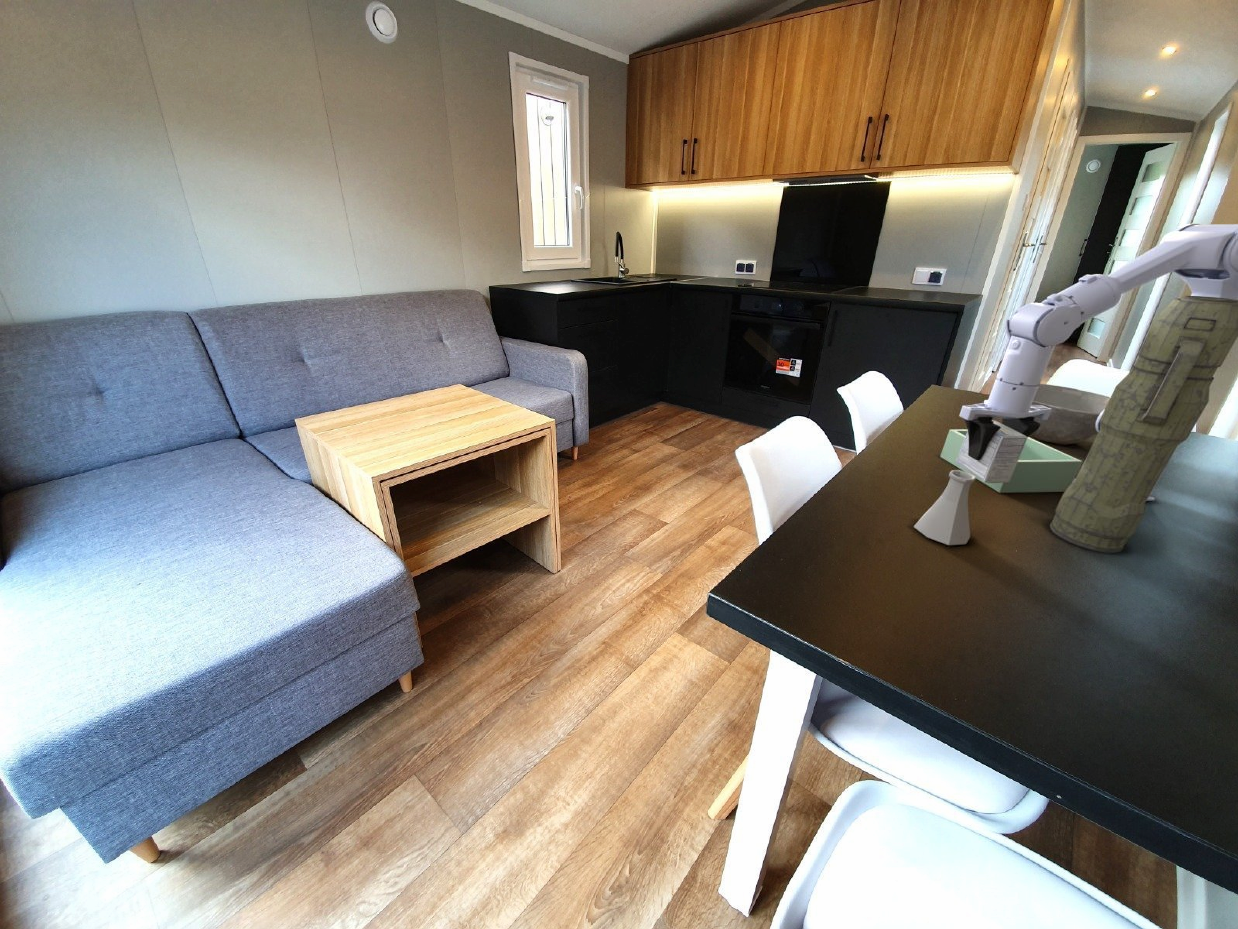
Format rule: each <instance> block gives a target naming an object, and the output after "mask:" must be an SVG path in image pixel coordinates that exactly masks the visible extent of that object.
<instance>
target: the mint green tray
mask: <svg viewBox="0 0 1238 929" xmlns="http://www.w3.org/2000/svg"><path fill="white" fill-rule="evenodd" d="M967 431H968V429H967V428H966V429H961V428H960V429H957V428H956V429H954V428H953V429H949V430H948V433H947V437H946V439H945V442H944V444H943V448H942V450H941V453H940V458H941V459H943V460H945V461H946V462H948V463H950V464H952V465H953V466H955V467H957V468H958V469H959V470H961V471H964V472H968V473H970V474H972V473H971V472H969V471H968V470H966V469H965V468H963V467H962V466H960V465H959V464H957V463H956V461H957V458H958V455H959V453H960V450H961V447H962V445H963V442H964V439H965V437H966V434H967ZM1082 464H1083V460H1080V459H1078V458H1077V457H1074V456H1071V455H1070V454H1067V453H1065V452H1062V451H1061V450H1058V449H1056V448H1054V447H1052V446H1049V445H1047V444H1044V443H1043V442H1040V441H1039V440H1037V439H1034V438H1030V437H1027V440H1026V443H1025V445H1024V448H1023V450H1022V452H1021V455H1020V457H1019V460H1018V462H1017V464H1016V467H1015V469H1014V471H1013V474H1012V476H1011V479H1010V481H1009V482H1008V483H989V482H984V481H983V480H981V479H980V478H978V477H977V476H976V479H975V480H978V481H980V482H981V483H983V484H984V485H986V486H988V488H989V487H990V488H991V489H993V490H994V491H996V492H998V493H999V494H1000V493H1003V494H1005V493H1062V492H1063V493H1064V492H1065V491H1066V489H1067V488H1068V487H1069V486H1070V485H1071V484H1072V482H1073V480H1074V479H1076V477H1077V475H1078V473H1079V471H1080V469H1081V467H1082ZM972 475H974V474H972ZM974 476H975V475H974Z"/></svg>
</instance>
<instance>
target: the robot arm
mask: <svg viewBox="0 0 1238 929" xmlns="http://www.w3.org/2000/svg"><path fill="white" fill-rule="evenodd" d="M1170 273H1173V274H1174V275H1176V276H1177V277H1178V278H1179V279H1180V280H1182V282H1185V283H1186V284H1187V286H1188V287H1189V290H1190V291H1191V294H1190V296H1203V297H1217V298H1227V299H1236V300H1238V223H1228V224H1227V223H1225V224H1221V223H1220V224H1219V223H1218V224H1214V223H1213V224H1201V223H1188V224H1185V225H1183V226H1181V227H1179V228H1177V229H1176V230H1175V231H1172V232H1169V233H1166V234H1165V235H1164V236H1163V237H1162V239H1161V240H1160V242H1159V244H1157V245H1156V246H1154V247H1153V248H1151V249H1149V250H1147V251H1145V252H1144V253H1142V254H1141V255H1140V256H1138V257H1136V258H1134V259H1132V260H1131V261H1129V262H1127V263H1125V264H1124V265H1123V266H1121V267H1119V268H1118V269H1116V270H1114V271H1112V272H1110V273H1109V274H1108V275H1107V274H1102V273H1101V274H1100V273H1098V274H1097V273H1095V274H1085V275H1083V276H1082V277H1080V278H1078V282H1076V283H1074V284H1072V285H1071V286H1069V287H1067V288H1065V289H1063V290H1062V291H1059V292H1058V293H1052V294H1050V295H1049V296H1047V297H1046V299H1044V300H1043V301H1041V302H1030V303H1026V304H1025V305H1023V306H1021V307H1019V308H1018V309H1017V310H1016V311H1014V312H1013V314H1012V315H1011V316H1010V318H1009V319H1006V321H1005V333H1006V336H1007V338H1006V341H1005V348H1006V350H1005V352H1004V356H1003V358H1002V361H1001V363H1000V366H999V370H998V371H997V374H996V377H995V380H994V383H993V385H992V388H991V391H990V394H989V397H988V399H984V401H983V402H981V403H975V404H969V405H968V404H967V405H966V404H965V405H962V407H961V409H960V413H959V415H958V417H960V418H962V419H964V422H965V425H966V429H968V436H969V449H968V456H970V457H972V458H973V459H975V460H980V459H981V458H982V456H983V455H984V453H985V450H986V448H987V446H988V444H989V442H990V440H991V439H992V437H993V436H994V435H995V434H996V432H997V431H998V430H999V429H1000V428H1001V427H1000V426H998V425H996V424H994V421H995V419H996V420H998V419H999V420H1000V419H1001V424H1003V425H1005V426H1007V427H1009V428H1011V429H1013V430H1015V431H1017V432H1019V433H1021V434H1023V435H1025V436H1027V437H1028V436H1030V435H1031V434H1032V433H1034V432H1035V431H1037V430H1038V429H1039V427H1040V425H1041V424H1040V423H1038V422H1035V421H1034V419H1035V418H1039V419H1041V420H1048V417H1049V415H1050V413H1051V410H1052V409H1050V408H1048V407H1045V406H1042V405H1031V404H1032V402H1033V399H1034V397H1035V395H1036V392H1037V390H1038V387H1039V385H1040V384H1041V382H1042V380H1043V377H1044V374H1045V372H1046V370H1047V368H1048V365H1049V363H1050V361H1051V358H1052V355H1053V352H1054V350H1055V348H1056V345H1059V344H1063V343H1064V342H1065V341H1067V340H1068V339H1069V338H1070V336H1072V334H1073V332H1074V331H1075V330H1077V329H1078V328H1080V326H1081V325H1082V324H1083V323H1085V322H1088V321H1089V320H1091V319H1094V318H1095V317H1097V316H1099V315H1101V314H1102V313H1105V312H1107V311H1109V310H1111V309H1113V308H1115V307H1116V306H1117V305H1118V303H1119V302H1120V301H1121V298H1122V295H1123V294H1126V293H1128V292H1130V291H1132V290H1134V289H1136V288H1139V287H1141V286H1144V285H1146V284H1147V283H1150V282H1152V281H1154V280H1158V279H1159V278H1161V277H1163V276H1165V275H1168V274H1170ZM1103 412H1104V410H1103V411H1102V412H1101V414H1100V415H1099V416H1098V418H1097V421H1096V426H1095V427H1096V430H1097V432H1099V430H1100V418H1101V416H1102V414H1103ZM992 420H993V421H992ZM1166 468H1167V466H1166V467H1165V469H1164V470H1163V472H1162V474H1161V476H1160V477H1159V479H1158V481H1157V483H1156V484H1155V486H1154V488H1153V490H1152V491H1151V493H1150V495H1149V497H1148V498H1147V500H1146V502H1153V501H1155V497H1153V496H1151V495H1152V493H1153V491H1154V489H1155V488H1156V486H1157V484H1158V483H1159V481H1160V479H1161V478H1162V476H1163V474H1164V472H1165V470H1166ZM1075 480H1076V478H1074V480H1073V482H1074V481H1075ZM1073 482H1072V483H1073Z"/></svg>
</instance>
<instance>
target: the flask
mask: <svg viewBox="0 0 1238 929" xmlns="http://www.w3.org/2000/svg"><path fill="white" fill-rule="evenodd" d="M948 477H949V480H948V483H947V485H946V487H945V489H944V491H943V492H942V494H941V495H940V496H939V497H938V499H937V500H936V501H935V502H934V503H933V504H932V505H931V507H929V509H928V510H927V511H926V512H925V513H924V514H923V515H922V516H921V517H920V519H919V520H918V521H917V522H916V523H915V524H914V526H913V528H914V529H916V530H917V531H918V532H920V533H921V534H922V535H923V536H925V537H926V538H928V539H931V540H934V541H936V542H939V543H942V544H944V545H947V546H956V545H958V546H959V545H966V544H967V543H968V541H969V540H970V538H971V528H970V519H969V502H968V499H969V492H970V488H971V485H972V484H973V483H974V482H975V480H977V479H976V476H974V475H972V474H970V473H968V472H965V471H963V470H961V469H954V470H950V471H949V473H948Z"/></svg>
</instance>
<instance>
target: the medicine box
mask: <svg viewBox="0 0 1238 929" xmlns="http://www.w3.org/2000/svg"><path fill="white" fill-rule="evenodd" d="M992 421H994V424H996V425H998V426H1000V427H1001V428H1000V429H999V430H998V431H997V432H996V434H995V435H994V436H993V437H992V439H991V440H990V442H989V444H988V446H987V448H986V450H985V453H984V455H983V456H982V458H981V459H980V460H975V459H973V458H972V457H970V456H968V449H969V436H968V431H967V434H966V437H965V439H964V442H963V445H962V447H961V450H960V453H959V455H958V458H957V461H956V463H957V464H959V465H960V466H962V467H963V468H965V469H966V470H968V471H969V472H971V473H972V474H974V475H975V476H977V477H978V478H980V479H981V480H983V481H984V482H989V483H1008V482H1009V481H1010V479H1011V476H1012V474H1013V471H1014V469H1015V467H1016V464H1017V462H1018V460H1019V457H1020V455H1021V452H1022V450H1023V448H1024V445H1025V443H1026V440H1027V436H1025V435H1023V434H1021V433H1019V432H1017V431H1015V430H1013V429H1011V428H1009V427H1007V426H1005V425H1003V424H1002V422H999V421H997V420H994V419H992Z"/></svg>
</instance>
